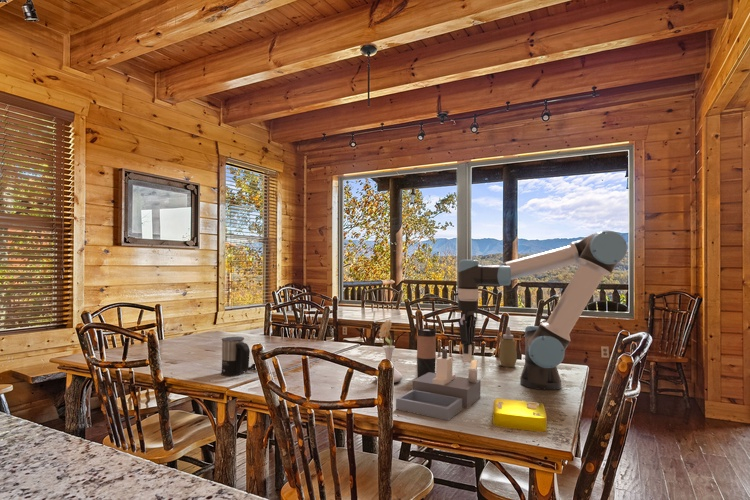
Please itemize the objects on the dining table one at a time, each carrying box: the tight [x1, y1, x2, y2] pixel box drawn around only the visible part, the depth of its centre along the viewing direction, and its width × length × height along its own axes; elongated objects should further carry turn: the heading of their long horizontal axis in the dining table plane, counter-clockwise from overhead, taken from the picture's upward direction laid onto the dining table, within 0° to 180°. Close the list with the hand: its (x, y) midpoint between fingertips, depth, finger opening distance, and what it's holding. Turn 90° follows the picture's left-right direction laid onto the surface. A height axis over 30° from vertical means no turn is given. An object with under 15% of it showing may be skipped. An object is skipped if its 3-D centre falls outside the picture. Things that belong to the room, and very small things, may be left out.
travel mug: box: [416, 327, 437, 378], centre depth 181 cm, size 8×8×20 cm
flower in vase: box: [373, 319, 403, 384], centre depth 175 cm, size 13×11×25 cm
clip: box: [467, 359, 478, 383], centre depth 161 cm, size 18×3×4 cm, turn 165°
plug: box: [433, 348, 456, 385], centre depth 155 cm, size 4×11×14 cm, turn 149°
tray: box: [395, 389, 463, 421], centre depth 142 cm, size 18×12×4 cm, turn 59°
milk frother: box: [220, 336, 256, 377], centre depth 186 cm, size 14×16×15 cm
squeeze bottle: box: [498, 326, 518, 368], centre depth 205 cm, size 8×8×18 cm
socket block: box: [411, 372, 482, 409], centre depth 155 cm, size 20×14×6 cm
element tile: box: [492, 398, 548, 433], centre depth 134 cm, size 15×15×5 cm
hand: (467, 361), depth 168 cm, fingers closed
